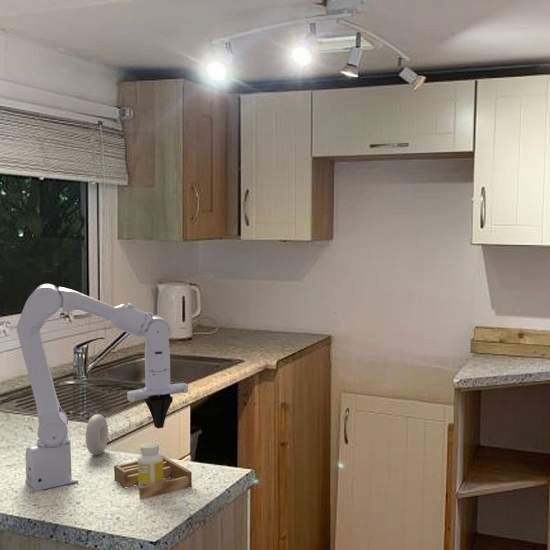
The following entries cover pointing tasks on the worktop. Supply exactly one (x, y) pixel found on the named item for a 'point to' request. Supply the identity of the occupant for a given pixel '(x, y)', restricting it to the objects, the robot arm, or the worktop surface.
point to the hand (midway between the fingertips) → (158, 427)
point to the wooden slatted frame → (129, 477)
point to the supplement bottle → (150, 465)
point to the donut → (96, 434)
